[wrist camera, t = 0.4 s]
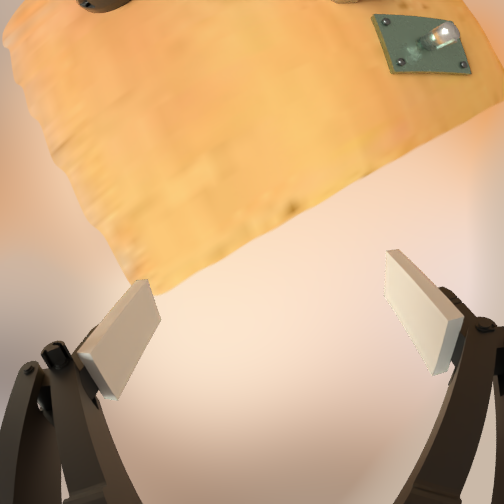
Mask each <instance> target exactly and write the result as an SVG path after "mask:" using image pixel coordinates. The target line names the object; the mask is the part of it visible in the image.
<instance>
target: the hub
mask: <svg viewBox="0 0 504 504" xmlns="http://www.w3.org/2000/svg"><path fill="white" fill-rule="evenodd" d="M331 1H333V2H335V3H357V1H358V0H331Z"/></svg>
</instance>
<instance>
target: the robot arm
mask: <svg viewBox="0 0 504 504" xmlns="http://www.w3.org/2000/svg"><path fill="white" fill-rule="evenodd" d="M76 1H77V3H78V4H79V5H80V6H81V7H82V8H84V9H86V10H87V11H89V12H92V13H103V12H108V11H111V10H113V9H116V8H118V7H120V6H122V5H124V4H125V3H127V2H129V1H130V0H76ZM384 297H385V298H386V299H387V301H388V303H389V304H390V306H391V307H392V309H393V311H394V312H395V313H396V315H397V317H398V318H399V320H400V322H401V323H402V325H403V327H404V328H405V330H406V332H407V333H408V335H409V337H410V338H411V340H412V342H413V343H414V345H415V347H416V348H417V350H418V352H419V354H420V355H421V357H422V359H423V361H424V362H425V364H426V366H427V368H428V369H429V371H430V373H431V375H432V376H434V375H438V374H441V373H444V372H447V371H448V368H449V365H450V362H451V361H452V362H453V364H454V366H455V369H454V371H453V374H452V377H451V379H450V381H449V384H448V385H449V387H448V390H447V393H446V396H445V399H444V402H443V404H442V407H441V410H440V412H439V415H438V417H437V420H436V422H435V425H434V427H433V429H432V432H431V434H430V436H429V439H428V441H427V443H426V445H425V447H424V449H423V451H422V453H421V455H420V458H419V460H418V461H417V463H416V465H415V467H414V469H413V471H412V473H411V475H410V476H409V478H408V480H407V482H406V484H405V485H404V487H403V489H402V490H401V492H400V494H399V495H398V497H397V499H396V500H395V502H394V503H393V504H461V503H462V500H461V499H460V494H461V491H462V489H463V486H464V484H465V481H466V478H467V476H468V474H469V471H470V468H471V465H472V462H473V460H474V457H475V454H476V451H477V447H478V444H479V441H480V437H481V433H482V430H483V426H484V422H485V418H486V413H487V409H488V404H489V399H490V394H491V387H492V382H493V385H494V395H495V409H496V438H497V439H496V466H495V478H494V488H493V495H492V502H491V504H504V326H502V327H497V325H496V324H495V322H493V321H492V320H491V319H488V318H485V317H476V316H475V315H474V314H473V313H472V312H471V311H470V310H469V309H468V308H467V306H466V305H465V304H464V303H462V301H461V300H460V299H459V298H457V296H456V295H455V294H454V293H453V292H452V291H450V290H448V289H447V288H445V287H439V288H438V287H436V285H434V283H433V282H432V281H431V280H430V279H429V278H428V277H427V276H426V275H425V274H424V273H423V272H422V271H421V270H420V269H419V268H418V267H417V266H416V265H415V264H414V263H413V262H411V260H409V259H408V258H407V257H406V256H405V255H404V254H403V253H402V252H401V251H400V250H399V249H396V250H390V251H386V270H385V288H384ZM160 321H161V317H160V315H159V312H158V309H157V306H156V303H155V300H154V297H153V294H152V291H151V288H150V285H149V282H148V279H144V280H136V281H135V282H134V283H133V285H132V286H131V287H130V288H129V289H128V290H127V292H126V293H125V294H124V295H123V296H122V297H121V299H120V300H119V301H118V302H117V303H116V304H115V306H114V307H113V308H112V309H111V310H110V312H109V313H108V314H107V315H106V316H105V318H104V319H103V320H102V321H101V322H100V324H98V325H97V326H96V327H94V328H93V329H92V330H91V331H90V332H89V334H88V335H87V337H85V338H84V340H83V342H81V343H80V345H79V346H78V347H77V348H76V350H75V351H74V352H73V354H72V355H70V353H69V351H68V349H67V347H66V346H65V343H64V342H62V341H55V342H52V343H50V344H48V345H47V346H46V347H45V348H44V349H43V350H42V352H41V356H42V358H43V359H44V361H45V362H46V364H47V366H48V367H49V368H48V369H42V368H41V367H40V365H39V364H38V362H36V361H31V362H27V363H26V364H24V365H23V366H22V368H21V369H20V370H19V373H18V375H17V378H16V381H15V384H14V387H13V389H12V393H11V395H10V398H9V402H8V405H7V408H6V411H5V415H4V419H3V422H2V426H1V430H0V504H62V502H61V501H62V499H61V464H62V468H63V473H64V477H65V481H66V484H67V488H68V492H69V496H70V497H69V498H68V499H65V500H64V501H63V504H142V502H141V500H140V498H139V496H138V494H137V493H136V490H135V488H134V486H133V484H132V482H131V480H130V479H129V476H128V474H127V472H126V470H125V468H124V466H123V463H122V461H121V459H120V456H119V454H118V451H117V449H116V447H115V444H114V442H113V439H112V437H111V434H110V431H109V429H108V426H107V423H106V420H105V417H104V414H103V411H102V408H101V405H100V402H99V400H98V398H97V397H96V393H97V392H98V390H99V391H100V392H101V394H102V395H103V397H104V398H105V399H111V400H118V399H119V397H120V395H121V393H122V391H123V389H124V387H125V386H126V384H127V382H128V380H129V378H130V376H131V374H132V372H133V370H134V368H135V366H136V365H137V363H138V361H139V359H140V357H141V355H142V353H143V352H144V350H145V348H146V346H147V345H148V343H149V341H150V339H151V337H152V335H153V334H154V332H155V330H156V328H157V326H158V325H159V323H160ZM37 402H38V404H39V405H40V406H41V407H40V409H39V408H38V404H37Z"/></svg>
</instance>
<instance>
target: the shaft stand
mask: <svg viewBox="0 0 504 504" xmlns="http://www.w3.org/2000/svg"><path fill="white" fill-rule="evenodd" d="M371 20H372V22H373V25H374V27H375V30H376V32H377V35H378V37H379V40H380V43H381V45H382V48H383V51H384V54H385V57H386V60H387V63H388V66H389V69H390V73H391V74H402V73H437V74H458V75H469V74H471V71H470V67H469V64H468V61H467V58H466V55H465V52H464V49H463V46H462V44H461V41H460V38H459V37H460V33H459V30H458V29H457V27H456V26H455V25H454V23H453V22H452V21H446V20H440V19H433V18H425V17H416V16H405V15H386V14H373V16H372V17H371Z"/></svg>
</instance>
